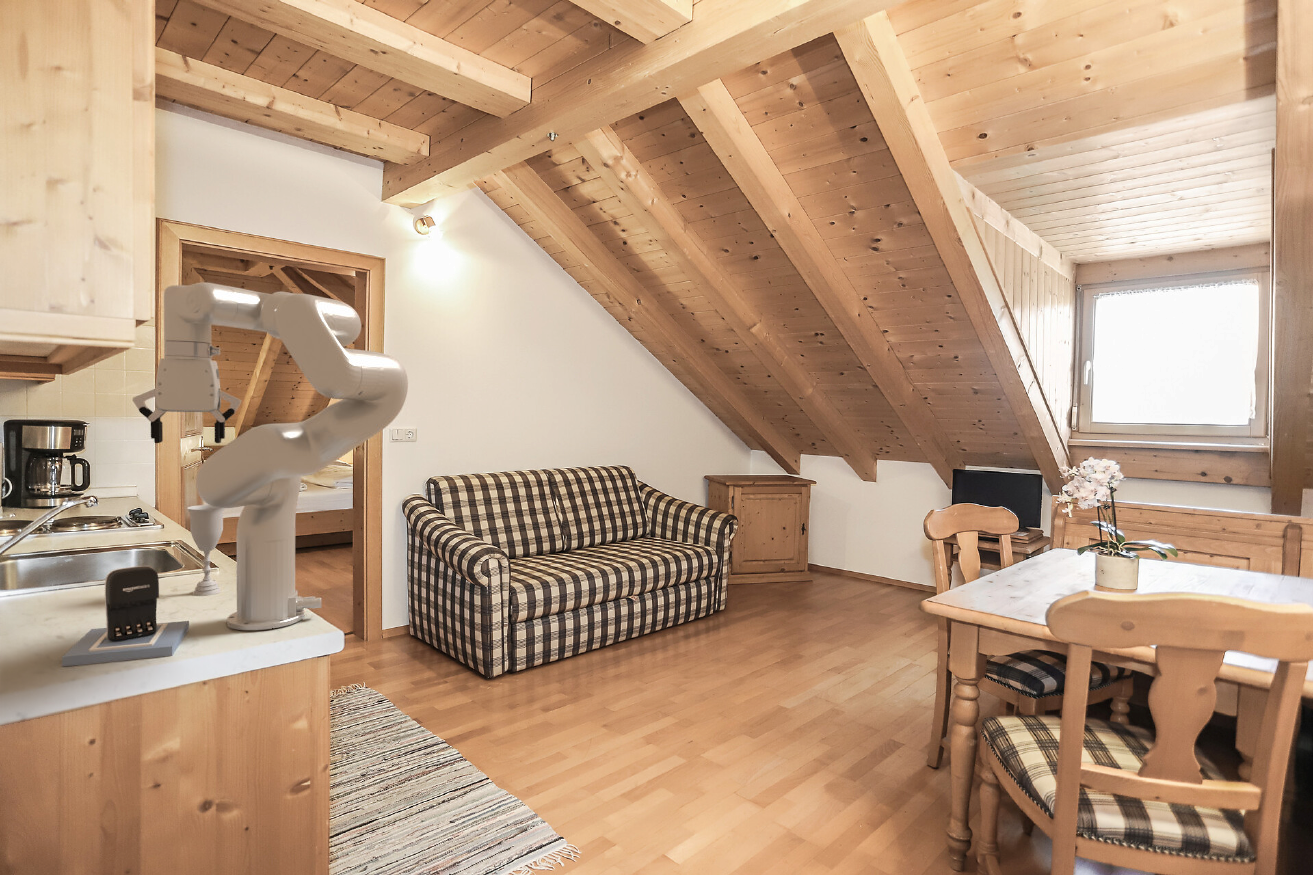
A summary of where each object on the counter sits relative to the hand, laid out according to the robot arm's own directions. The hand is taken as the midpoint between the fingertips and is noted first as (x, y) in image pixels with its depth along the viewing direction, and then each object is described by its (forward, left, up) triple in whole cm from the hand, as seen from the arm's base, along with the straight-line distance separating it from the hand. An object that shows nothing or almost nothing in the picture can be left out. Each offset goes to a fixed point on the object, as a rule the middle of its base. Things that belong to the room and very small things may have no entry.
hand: (188, 442), depth 136 cm
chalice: (-1, -13, -32) cm, 35 cm away
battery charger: (+5, +20, -31) cm, 37 cm away
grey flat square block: (+5, +20, -32) cm, 38 cm away
